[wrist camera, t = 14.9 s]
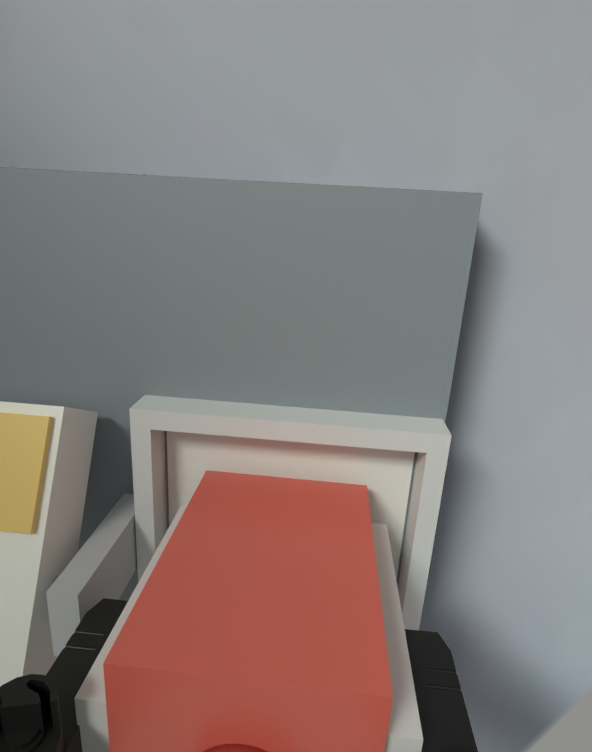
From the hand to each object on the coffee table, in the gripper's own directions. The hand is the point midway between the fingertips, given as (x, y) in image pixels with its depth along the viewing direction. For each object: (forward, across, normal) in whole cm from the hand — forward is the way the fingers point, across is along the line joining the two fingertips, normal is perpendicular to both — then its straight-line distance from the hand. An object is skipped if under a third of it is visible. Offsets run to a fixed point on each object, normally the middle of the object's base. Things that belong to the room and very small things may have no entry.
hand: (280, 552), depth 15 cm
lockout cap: (0, 0, 0) cm, 0 cm away
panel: (+3, -6, 0) cm, 7 cm away
